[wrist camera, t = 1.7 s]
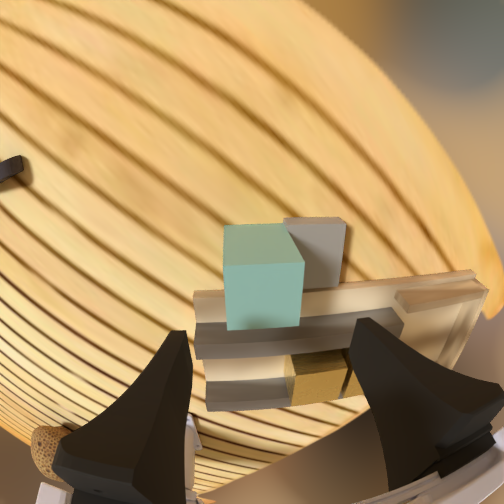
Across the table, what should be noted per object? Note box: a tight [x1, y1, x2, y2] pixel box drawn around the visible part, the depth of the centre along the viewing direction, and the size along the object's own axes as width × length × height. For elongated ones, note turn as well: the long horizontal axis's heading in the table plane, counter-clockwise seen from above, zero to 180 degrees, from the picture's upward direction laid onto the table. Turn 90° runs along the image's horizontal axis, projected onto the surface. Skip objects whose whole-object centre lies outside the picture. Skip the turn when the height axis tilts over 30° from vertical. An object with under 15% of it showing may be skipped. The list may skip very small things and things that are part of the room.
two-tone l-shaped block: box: [223, 217, 346, 330], centre depth 17 cm, size 5×8×6 cm, turn 90°
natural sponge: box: [31, 426, 72, 482], centre depth 25 cm, size 9×9×10 cm
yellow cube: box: [339, 347, 364, 398], centre depth 22 cm, size 4×4×4 cm
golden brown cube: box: [283, 349, 348, 406], centre depth 22 cm, size 4×4×4 cm
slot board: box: [193, 270, 489, 412], centre depth 23 cm, size 13×27×4 cm, turn 90°
